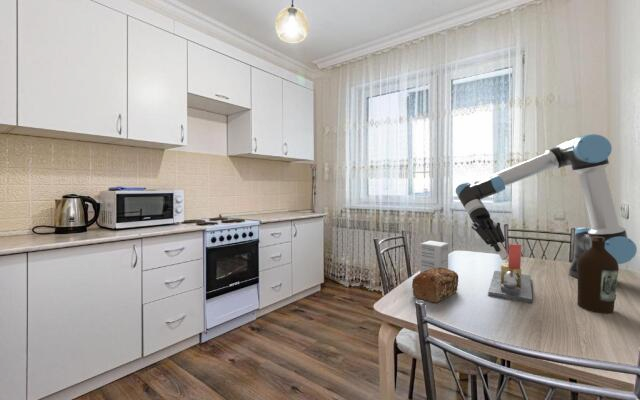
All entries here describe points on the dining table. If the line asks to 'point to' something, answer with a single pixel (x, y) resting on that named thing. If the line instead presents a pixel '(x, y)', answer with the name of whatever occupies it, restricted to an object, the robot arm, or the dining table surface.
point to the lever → (514, 256)
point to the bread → (435, 284)
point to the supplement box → (433, 255)
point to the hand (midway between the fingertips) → (505, 258)
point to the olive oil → (597, 278)
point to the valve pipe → (511, 284)
